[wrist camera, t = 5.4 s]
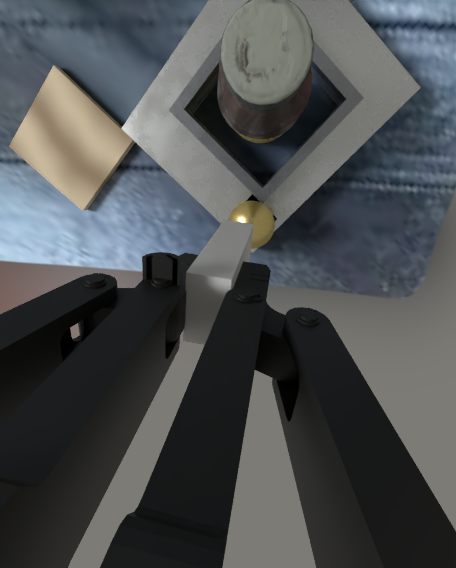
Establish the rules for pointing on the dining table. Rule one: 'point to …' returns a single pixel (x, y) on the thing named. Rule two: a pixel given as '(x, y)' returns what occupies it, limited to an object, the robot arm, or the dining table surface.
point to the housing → (313, 151)
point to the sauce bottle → (265, 69)
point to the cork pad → (71, 139)
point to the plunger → (255, 221)
